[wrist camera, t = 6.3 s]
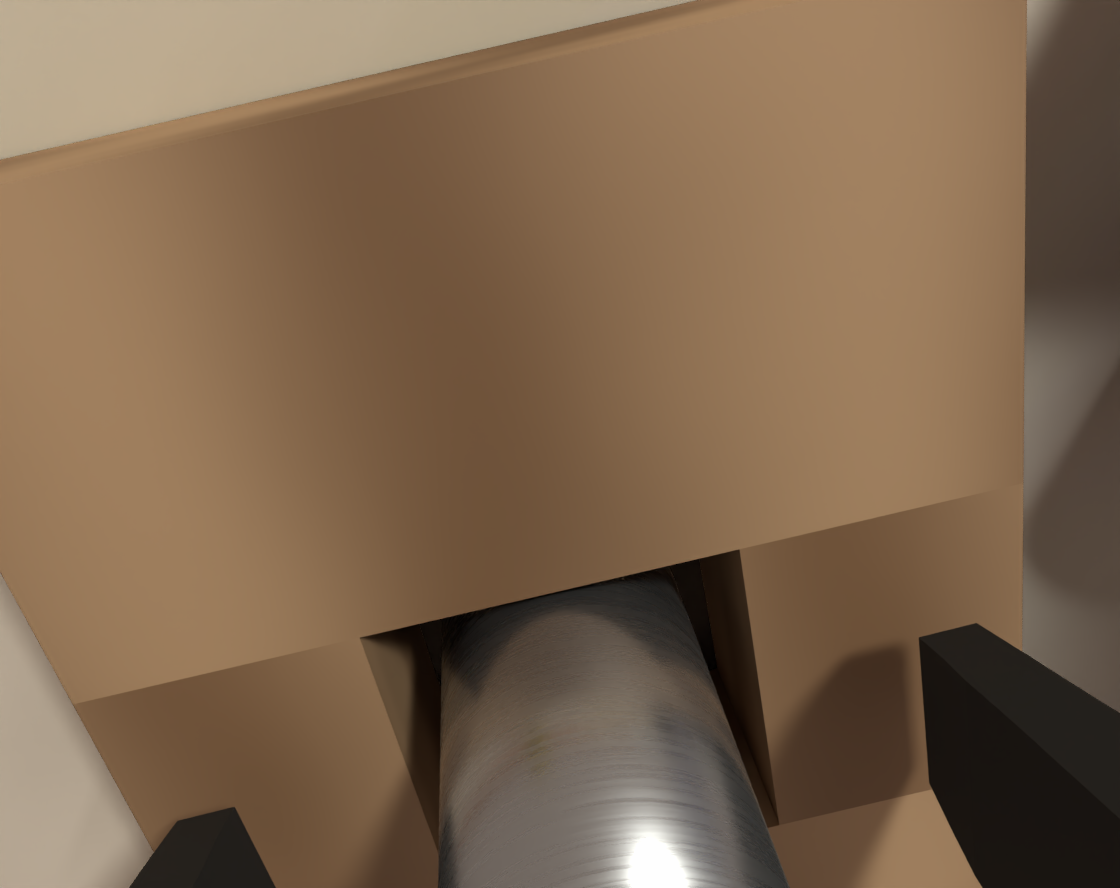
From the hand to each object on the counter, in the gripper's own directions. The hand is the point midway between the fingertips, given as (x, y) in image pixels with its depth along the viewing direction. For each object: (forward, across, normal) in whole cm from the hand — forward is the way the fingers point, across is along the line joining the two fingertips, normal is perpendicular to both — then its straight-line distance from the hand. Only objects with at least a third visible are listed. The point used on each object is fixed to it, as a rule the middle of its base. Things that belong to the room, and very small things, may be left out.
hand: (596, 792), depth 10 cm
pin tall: (+4, 0, 0) cm, 4 cm away
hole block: (+4, 0, 0) cm, 4 cm away
